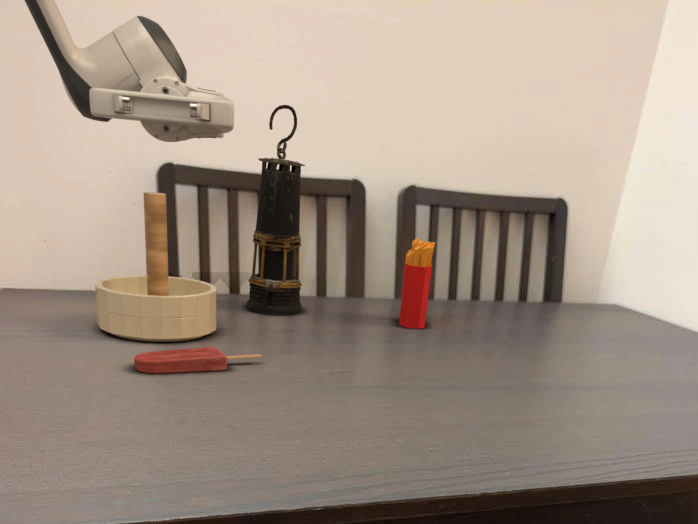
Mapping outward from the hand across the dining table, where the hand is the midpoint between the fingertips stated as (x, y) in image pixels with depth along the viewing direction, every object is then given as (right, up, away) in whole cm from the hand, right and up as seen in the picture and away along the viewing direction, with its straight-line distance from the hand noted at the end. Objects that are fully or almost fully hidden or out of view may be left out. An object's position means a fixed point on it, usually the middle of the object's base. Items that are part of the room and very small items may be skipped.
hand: (159, 106), depth 100 cm
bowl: (0, -30, +1) cm, 30 cm away
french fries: (+36, -26, +18) cm, 48 cm away
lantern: (+13, -23, +20) cm, 33 cm away
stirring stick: (0, -30, 0) cm, 30 cm away
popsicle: (+9, -38, -14) cm, 41 cm away
